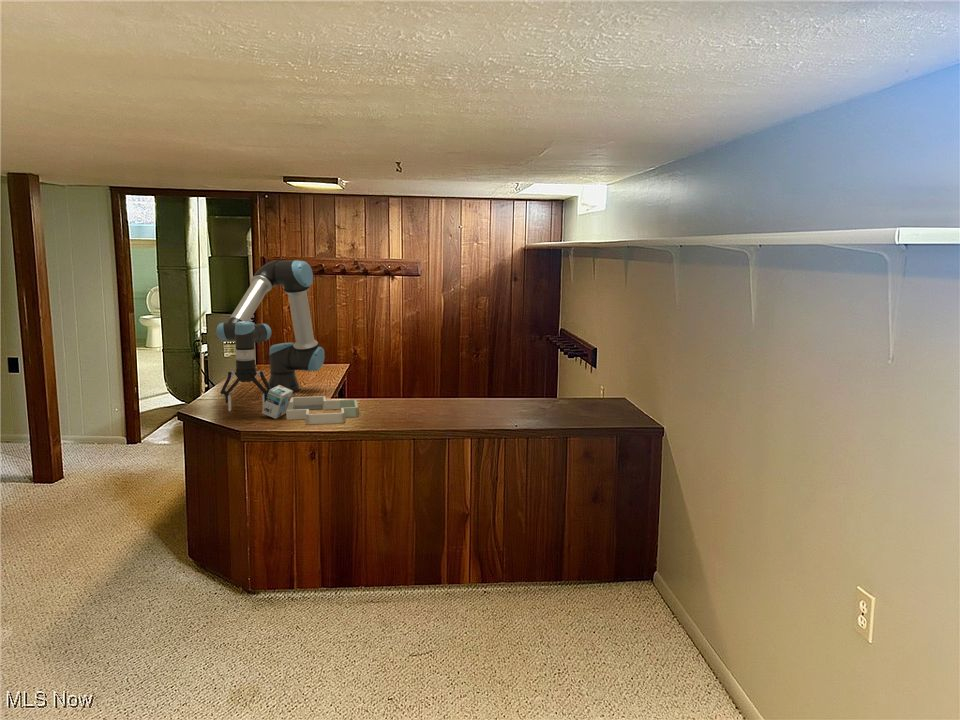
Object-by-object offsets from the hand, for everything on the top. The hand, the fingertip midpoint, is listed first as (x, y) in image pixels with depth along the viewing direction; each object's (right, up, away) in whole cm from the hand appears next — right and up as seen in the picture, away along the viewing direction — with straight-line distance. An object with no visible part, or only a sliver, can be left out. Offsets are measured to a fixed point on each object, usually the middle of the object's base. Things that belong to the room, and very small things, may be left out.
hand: (247, 410), depth 300 cm
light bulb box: (+10, -2, +3) cm, 11 cm away
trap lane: (+29, -2, +7) cm, 30 cm away
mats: (+27, -2, +7) cm, 28 cm away
